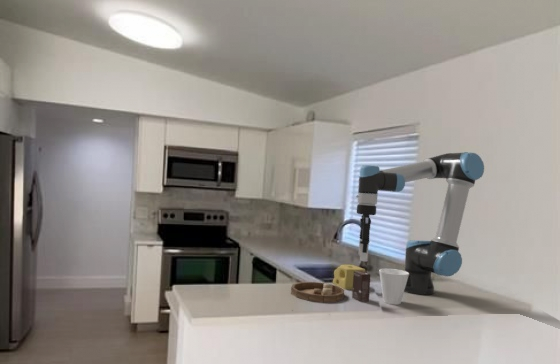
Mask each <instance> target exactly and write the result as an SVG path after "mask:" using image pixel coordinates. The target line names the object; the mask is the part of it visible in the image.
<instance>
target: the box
mask: <svg viewBox="0 0 560 364" xmlns="http://www.w3.org/2000/svg"><path fill="white" fill-rule="evenodd" d="M370 289H371V273H370V272H369V273H368V272H366V271H365V272H364V271H354V274H353V289H351V290H352V291H351V292H352V293H351V296H352V297H351V298H352V299H353V300H355V301H357V302H360V303H366V302H370Z"/></svg>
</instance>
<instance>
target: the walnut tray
mask: <svg viewBox="0 0 560 364" xmlns="http://www.w3.org/2000/svg"><path fill="white" fill-rule="evenodd" d="M324 284H325V282H317V281H301V282H296V283H292V285H291V287H290V294H292V296H294V297H295V298H298V299H301V300H304V301H309V302H310V301H311V302H317V303H334V302H340V301H342V300H344V299H345V289H343V288H341V287H339V286H337V285H334V284H332V295H322V294H323V286H324Z"/></svg>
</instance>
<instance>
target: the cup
mask: <svg viewBox="0 0 560 364" xmlns="http://www.w3.org/2000/svg"><path fill="white" fill-rule="evenodd" d="M378 271H379V279H380V285H381V294H382V300H383V302H384V303H385V304H389V305H396V306H397V305H401V303H402V299H403V296H404V293H405V291H404V290H405V286H406V283H407V279H408V276H409V273H408V272H406V271H405V270H402V269H396V268H380V269H379V270H378Z"/></svg>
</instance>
